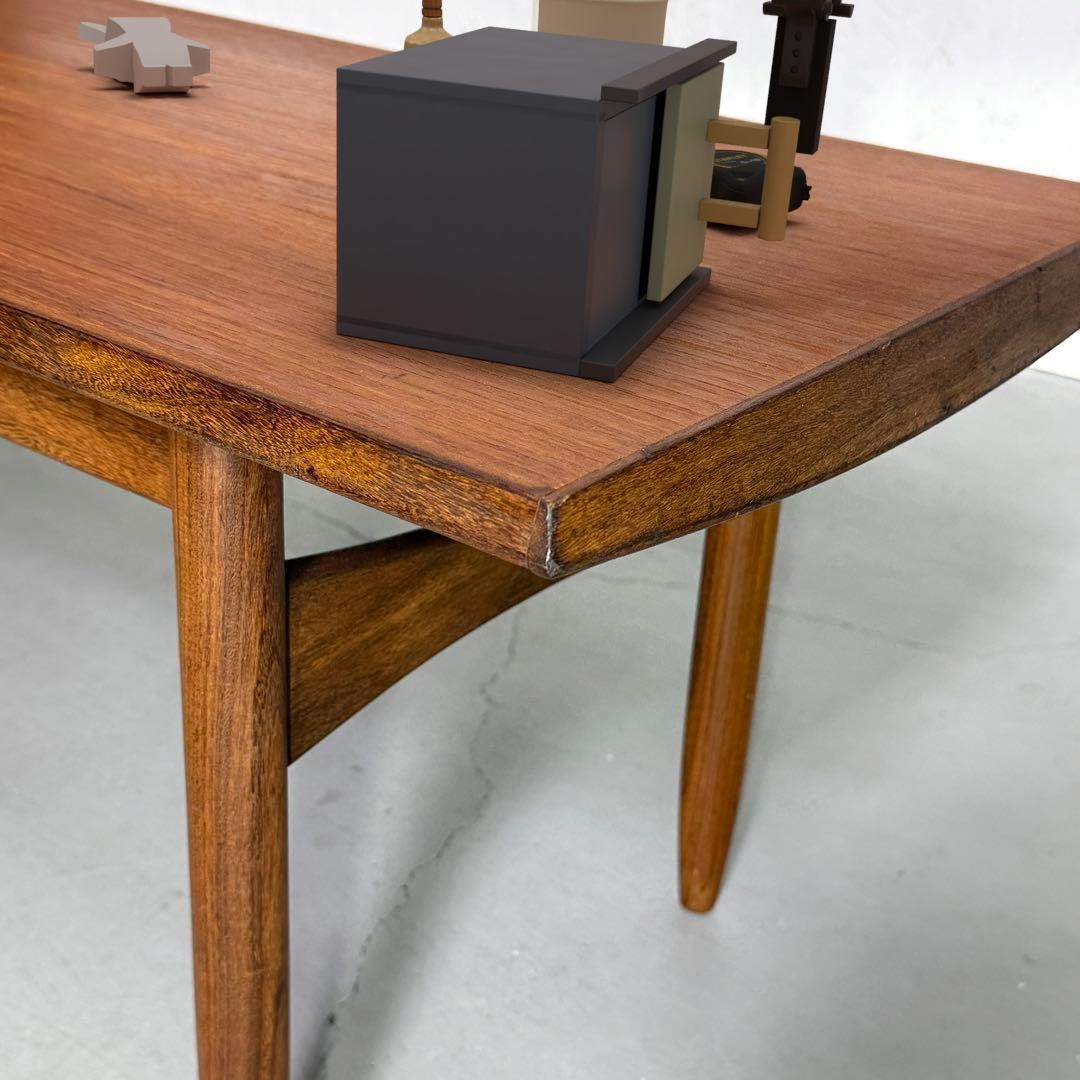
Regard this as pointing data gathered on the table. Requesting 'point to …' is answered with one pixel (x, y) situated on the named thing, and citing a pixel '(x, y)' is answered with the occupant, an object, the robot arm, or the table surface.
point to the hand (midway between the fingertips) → (789, 148)
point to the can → (605, 19)
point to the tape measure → (750, 179)
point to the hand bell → (428, 25)
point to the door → (710, 178)
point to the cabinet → (508, 197)
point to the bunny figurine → (145, 53)
